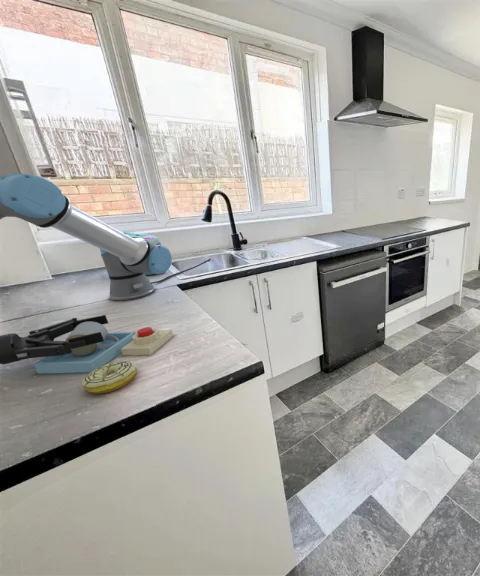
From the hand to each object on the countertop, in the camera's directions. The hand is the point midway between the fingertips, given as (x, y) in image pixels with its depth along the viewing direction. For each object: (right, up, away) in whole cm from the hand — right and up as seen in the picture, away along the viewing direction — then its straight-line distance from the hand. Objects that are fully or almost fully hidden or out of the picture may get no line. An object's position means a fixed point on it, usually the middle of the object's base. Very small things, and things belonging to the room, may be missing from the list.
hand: (104, 327), depth 91 cm
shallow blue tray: (-3, -8, -1) cm, 9 cm away
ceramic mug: (-3, -7, 0) cm, 7 cm away
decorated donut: (+14, -13, -13) cm, 23 cm away
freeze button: (+10, -3, +3) cm, 11 cm away
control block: (+10, -6, +4) cm, 12 cm away
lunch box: (-46, +20, +73) cm, 89 cm away
